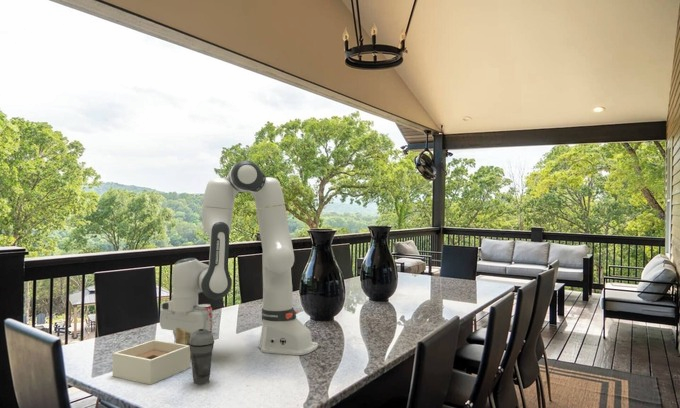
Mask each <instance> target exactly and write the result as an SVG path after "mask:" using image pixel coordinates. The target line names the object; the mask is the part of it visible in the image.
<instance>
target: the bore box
mask: <svg viewBox="0 0 680 408" xmlns="http://www.w3.org/2000/svg"><path fill="white" fill-rule="evenodd" d="M189 368H191V356H190V346H189V345H183V344H177V343H176V342H170V341H164V340H158V339H153V340H149V341H146V342H143V343H139V344H137V345H133V346H130V347H127V348H125V349H121V350H119V351H118V350H117V351H115V352H113V353H112V377H113V378H114V377H115V378H120V379H123V380H128V381H134V382H137V383H141V384H146V385H153V384H155V383H158V382H160V381H162V380H164V379H166V378H169V377H171V376H173V375H176V374H177V373H180V372H183V371H185V370H188V369H189Z"/></svg>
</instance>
